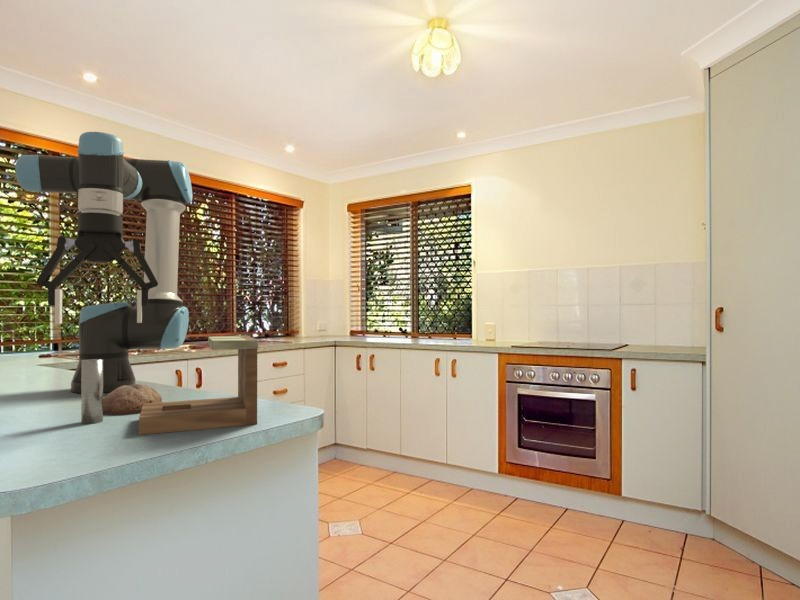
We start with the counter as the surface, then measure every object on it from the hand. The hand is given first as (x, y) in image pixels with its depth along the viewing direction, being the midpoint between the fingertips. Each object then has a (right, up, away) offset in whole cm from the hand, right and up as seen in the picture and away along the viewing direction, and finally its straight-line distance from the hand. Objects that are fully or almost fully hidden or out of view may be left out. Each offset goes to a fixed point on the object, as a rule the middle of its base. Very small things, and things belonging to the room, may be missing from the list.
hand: (100, 323), depth 98 cm
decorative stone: (0, -20, +12) cm, 23 cm away
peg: (-1, -19, 0) cm, 19 cm away
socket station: (+19, -19, 0) cm, 27 cm away
